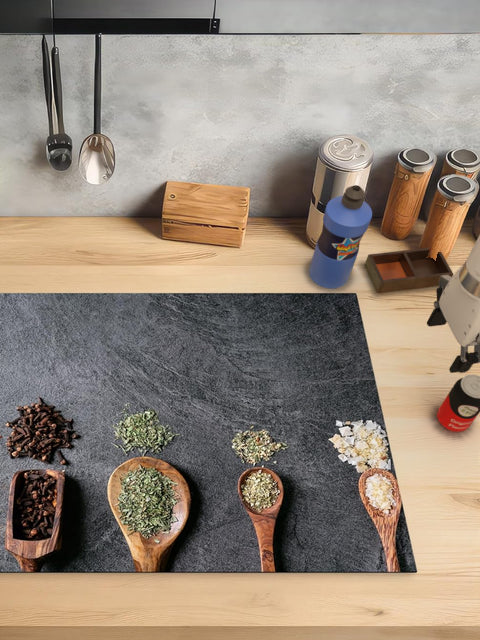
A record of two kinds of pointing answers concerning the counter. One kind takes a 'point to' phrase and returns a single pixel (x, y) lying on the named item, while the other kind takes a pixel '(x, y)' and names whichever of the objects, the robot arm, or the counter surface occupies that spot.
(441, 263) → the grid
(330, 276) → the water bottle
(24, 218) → the counter surface
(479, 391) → the beverage can
